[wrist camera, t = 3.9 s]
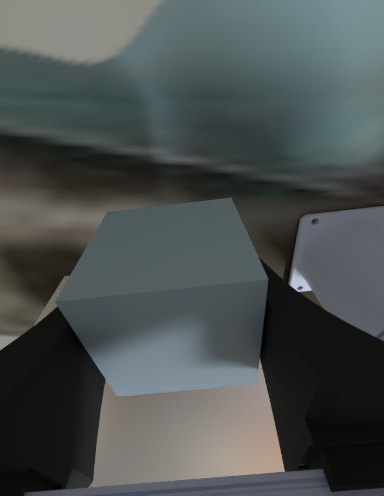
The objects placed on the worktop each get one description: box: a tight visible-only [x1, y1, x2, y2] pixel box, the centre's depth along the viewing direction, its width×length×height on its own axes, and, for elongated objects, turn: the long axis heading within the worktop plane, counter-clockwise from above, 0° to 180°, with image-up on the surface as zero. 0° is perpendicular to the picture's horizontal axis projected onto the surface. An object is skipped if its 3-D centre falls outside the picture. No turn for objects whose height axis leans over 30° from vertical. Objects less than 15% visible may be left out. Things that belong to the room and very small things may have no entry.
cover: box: [55, 198, 268, 396], centre depth 10 cm, size 6×6×6 cm
